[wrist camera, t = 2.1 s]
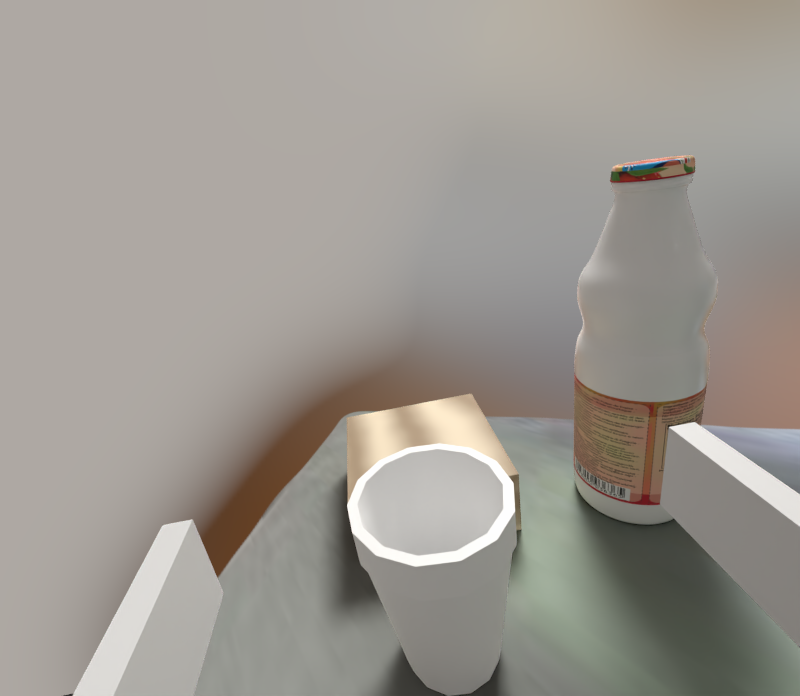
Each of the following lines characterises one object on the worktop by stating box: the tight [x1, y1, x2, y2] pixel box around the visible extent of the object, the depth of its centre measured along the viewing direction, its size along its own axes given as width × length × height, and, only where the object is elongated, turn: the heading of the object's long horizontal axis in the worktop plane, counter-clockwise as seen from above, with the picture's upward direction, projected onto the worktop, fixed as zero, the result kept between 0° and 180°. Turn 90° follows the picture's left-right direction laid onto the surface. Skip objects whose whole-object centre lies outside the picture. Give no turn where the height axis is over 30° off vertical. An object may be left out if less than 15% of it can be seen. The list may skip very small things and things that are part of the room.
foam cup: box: [347, 443, 517, 696], centre depth 27 cm, size 10×9×13 cm
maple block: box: [347, 394, 521, 531], centre depth 42 cm, size 14×14×6 cm
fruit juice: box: [574, 156, 718, 525], centre depth 34 cm, size 9×9×28 cm
